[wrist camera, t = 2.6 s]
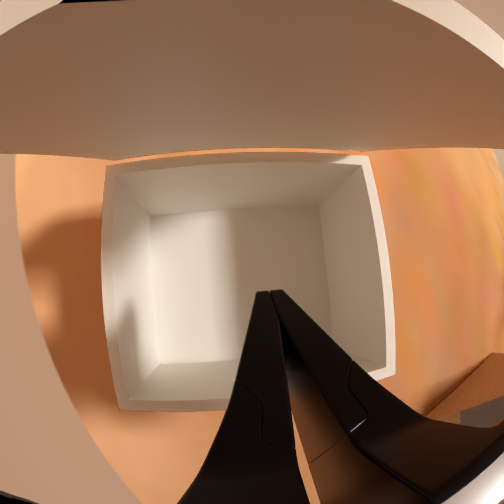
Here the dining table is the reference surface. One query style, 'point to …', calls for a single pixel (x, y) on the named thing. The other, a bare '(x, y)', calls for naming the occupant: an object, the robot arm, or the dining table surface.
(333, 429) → the robot arm
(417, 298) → the dining table surface
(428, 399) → the dining table surface
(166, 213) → the carton
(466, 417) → the sandwich container
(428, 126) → the carton flap
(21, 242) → the dining table surface
